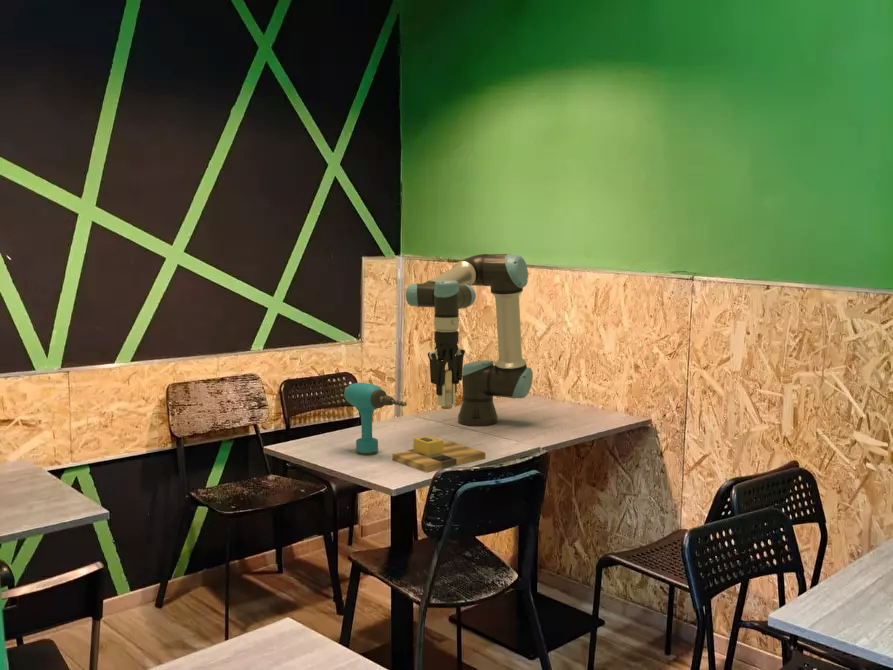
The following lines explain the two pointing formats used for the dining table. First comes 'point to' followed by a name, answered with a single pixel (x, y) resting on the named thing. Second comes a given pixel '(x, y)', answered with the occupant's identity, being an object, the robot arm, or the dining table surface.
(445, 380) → the brass cylinder rod
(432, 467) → the subfloor panel
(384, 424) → the dining table surface
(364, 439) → the power drill
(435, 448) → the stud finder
